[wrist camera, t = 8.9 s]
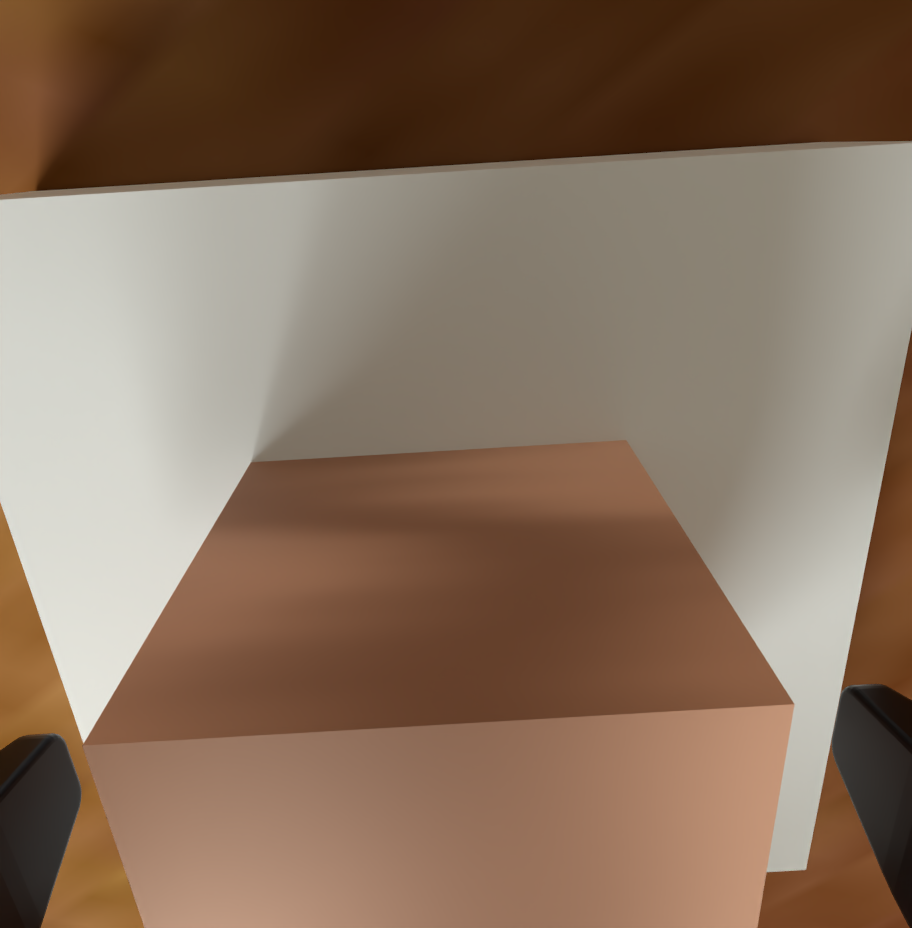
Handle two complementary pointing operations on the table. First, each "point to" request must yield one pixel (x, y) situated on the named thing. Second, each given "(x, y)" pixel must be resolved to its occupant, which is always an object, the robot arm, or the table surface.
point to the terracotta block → (446, 707)
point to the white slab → (467, 371)
